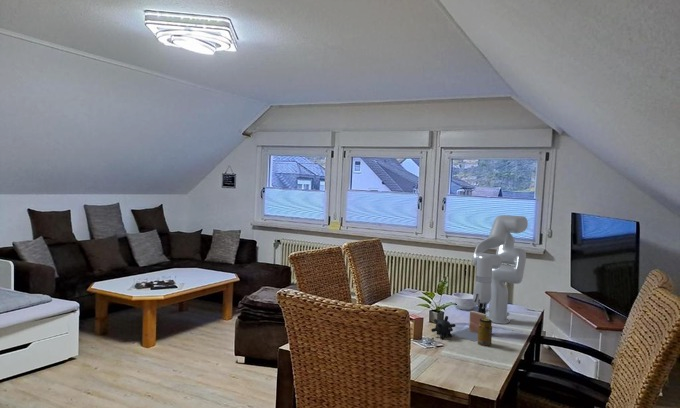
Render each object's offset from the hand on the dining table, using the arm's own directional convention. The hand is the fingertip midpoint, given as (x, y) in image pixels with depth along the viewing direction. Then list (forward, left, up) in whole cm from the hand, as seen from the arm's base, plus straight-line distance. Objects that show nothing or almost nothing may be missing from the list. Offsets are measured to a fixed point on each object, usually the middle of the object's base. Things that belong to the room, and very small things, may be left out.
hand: (481, 315), depth 232 cm
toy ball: (+23, -6, -9) cm, 26 cm away
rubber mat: (+8, 0, -8) cm, 11 cm away
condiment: (+17, +12, -9) cm, 23 cm away
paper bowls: (-36, -33, -9) cm, 50 cm away
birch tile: (+4, 0, -8) cm, 9 cm away
